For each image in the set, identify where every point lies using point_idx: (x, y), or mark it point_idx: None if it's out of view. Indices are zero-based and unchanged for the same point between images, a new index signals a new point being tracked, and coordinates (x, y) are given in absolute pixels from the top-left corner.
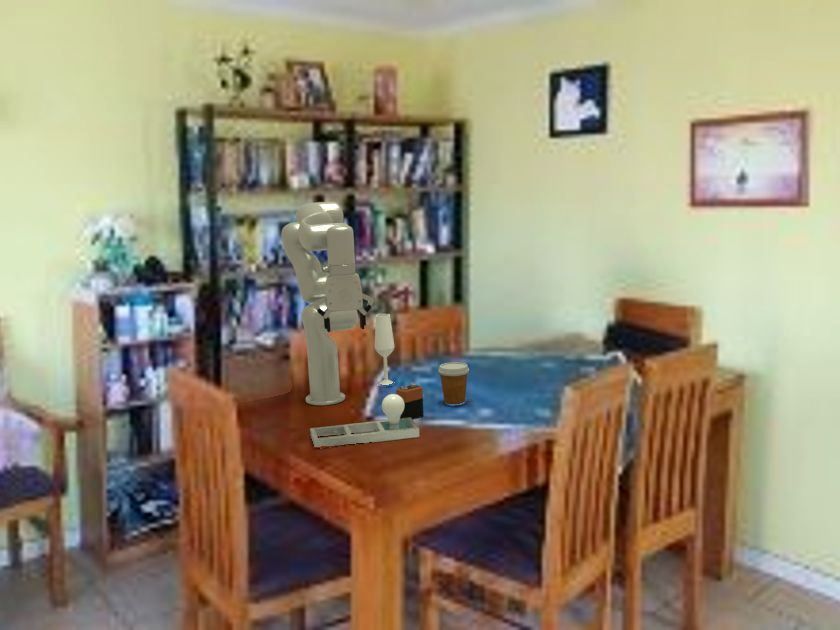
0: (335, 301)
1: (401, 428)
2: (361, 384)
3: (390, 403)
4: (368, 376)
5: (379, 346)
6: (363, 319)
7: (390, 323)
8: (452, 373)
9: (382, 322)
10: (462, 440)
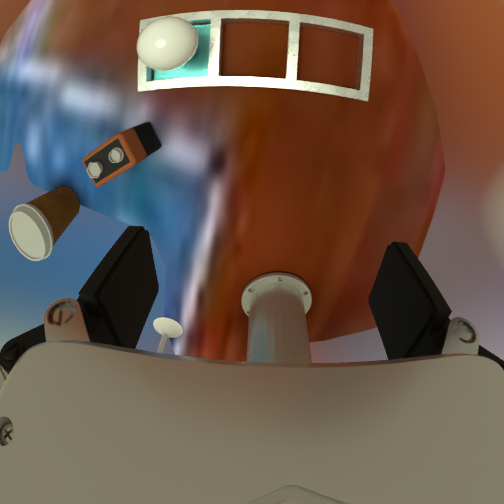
0: (478, 489)
1: (167, 72)
2: (205, 341)
3: (175, 18)
4: None
5: None
6: (98, 269)
7: None
8: (28, 206)
9: None
10: (89, 4)
